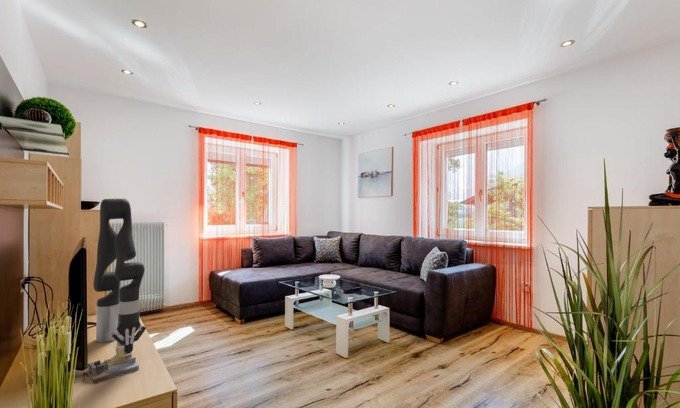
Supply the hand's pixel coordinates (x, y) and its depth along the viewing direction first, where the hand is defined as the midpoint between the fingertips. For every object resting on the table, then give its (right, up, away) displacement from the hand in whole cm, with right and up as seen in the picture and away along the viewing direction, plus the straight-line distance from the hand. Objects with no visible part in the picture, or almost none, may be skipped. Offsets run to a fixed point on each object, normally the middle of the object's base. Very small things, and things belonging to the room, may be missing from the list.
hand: (128, 352), depth 139 cm
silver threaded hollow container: (-8, -6, +10) cm, 14 cm away
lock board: (-4, -5, -4) cm, 8 cm away
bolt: (-3, -4, -3) cm, 6 cm away
